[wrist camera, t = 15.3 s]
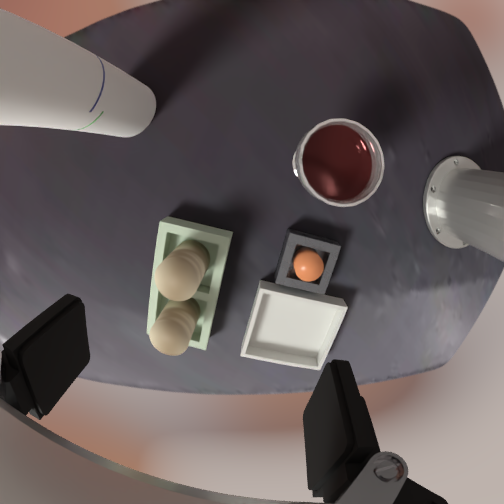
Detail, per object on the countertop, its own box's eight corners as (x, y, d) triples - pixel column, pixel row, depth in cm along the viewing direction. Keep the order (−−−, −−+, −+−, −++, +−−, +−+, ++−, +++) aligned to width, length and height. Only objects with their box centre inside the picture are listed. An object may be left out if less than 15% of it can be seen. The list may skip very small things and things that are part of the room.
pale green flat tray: (233, 231, 34) (230, 238, 31) (209, 337, 38) (205, 350, 35) (168, 216, 33) (159, 221, 30) (153, 322, 38) (146, 333, 35)
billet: (203, 298, 35) (191, 328, 28) (197, 327, 36) (185, 359, 30) (169, 289, 35) (150, 316, 28) (165, 319, 36) (148, 349, 29)
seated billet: (213, 245, 33) (201, 265, 26) (206, 279, 34) (194, 306, 28) (177, 236, 33) (157, 253, 26) (171, 270, 34) (152, 294, 27)
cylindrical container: (167, 96, 29) (15, 7, 5) (136, 147, 31) (-46, 143, 7) (124, 75, 28) (-26, 4, 4) (96, 123, 30) (-72, 107, 6)
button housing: (335, 240, 34) (341, 246, 31) (320, 286, 35) (324, 294, 33) (287, 228, 33) (289, 232, 31) (274, 275, 35) (275, 283, 33)
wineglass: (321, 123, 30) (353, 102, 18) (353, 173, 31) (399, 178, 20) (272, 154, 31) (279, 147, 19) (306, 204, 32) (330, 225, 21)
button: (322, 250, 33) (327, 257, 31) (314, 275, 34) (318, 284, 32) (296, 244, 33) (299, 250, 30) (289, 269, 34) (291, 277, 31)
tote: (342, 298, 36) (347, 307, 33) (317, 359, 39) (319, 370, 36) (260, 279, 35) (260, 288, 33) (241, 345, 38) (240, 355, 36)
